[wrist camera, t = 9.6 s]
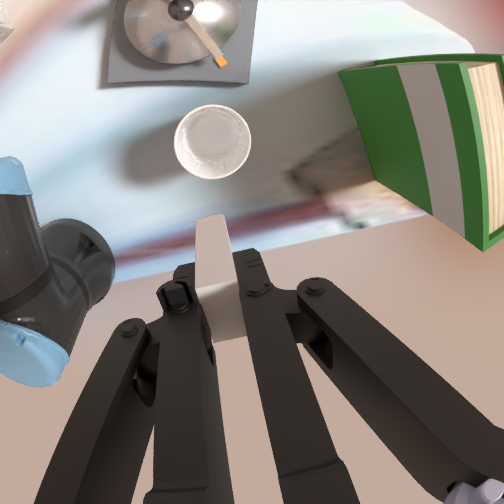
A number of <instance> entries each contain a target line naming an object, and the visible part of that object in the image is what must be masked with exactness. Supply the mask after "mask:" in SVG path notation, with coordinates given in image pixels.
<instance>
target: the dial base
mask: <svg viewBox="0 0 504 504" xmlns="http://www.w3.org/2000/svg"><path fill="white" fill-rule="evenodd" d="M127 2H128V0H117V4H116V10H115V16H114V23H113V30H112V37H111V46H110V55H109V66H108V78H107V83H123V82H142V81H208V82H227V83H240V84H248V83H249V74H250V65H251V55H252V46H253V37H254V28H255V19H256V10H257V2H258V0H241V10H242V11H241V18H240V21H239V24H238V26H237V29H236V31H235V33H234V34H233V36H232V37H231V39H230V40H229V41H228V43H227V44H226V45H225V46H224V47H222V48H221V49H220V50H221V52H222V53H223V54H224V55H223V56H221V57H219V58H218V59H215V57H214V56H213V55H211V56H209V57H207V58H205V59H203V60H200V61H197V62H193V63H188V64H166V63H161V62H158V61H155V60H153V59H151V58H149V57H147V56H145V55H144V54H142V53H141V52H140V51H139V50H137V49H136V48H135V47H134V46H133V45H132V43H131V42H130V40H129V39H128V36H127V34H126V31H125V28H124V13H125V8H126V5H127Z"/></svg>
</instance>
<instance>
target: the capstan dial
mask: <svg viewBox="0 0 504 504" xmlns="http://www.w3.org/2000/svg"><path fill="white" fill-rule="evenodd" d="M241 11H242V10H241V0H128V2H127V5H126V8H125V13H124V28H125V31H126V34H127V36H128V39H129V40H130V42H131V43H132V45H133V46H134V47H135V48H136V49H137V50H139V51H140V52H141V53H142V54H144V55H145V56H147V57H149V58H151V59H153V60H155V61H158V62H161V63H166V64H188V63H193V62H197V61H200V60H203V59H205V58H207V57H209V56H211V55H213V56H214V57H215V59H218V58H219V57H221V56H223V55H224V54H223V53H222V52H221V50H220V49H221V48H222V47H224V46H225V45H226V44H227V43H228V41H229V40H230V39H231V37H232V36H233V34H234V33H235V31H236V29H237V26H238V24H239V21H240V18H241Z"/></svg>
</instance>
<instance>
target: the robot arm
mask: <svg viewBox="0 0 504 504" xmlns="http://www.w3.org/2000/svg"><path fill="white" fill-rule="evenodd" d="M32 195H33V194H32V191H31V190H30V188H29V185H28V182H27V178H26V174H25V171H24V167H23V165H22V163H21V161H20V160H18V159H17V158H15V157H11V156H9V157H3V158H0V373H1V374H3V375H4V376H6V377H8V378H10V379H12V380H14V381H16V382H18V383H21V384H24V385H27V386H32V387H47V386H51V385H53V384H54V383H56V382H57V381H58V379H59V378H60V377H61V374H62V372H63V370H64V368H65V366H66V365H67V363H68V362H69V357H70V354H71V352H72V349H73V346H74V344H75V341H76V338H77V336H78V333H79V331H80V328H81V326H82V323H83V321H84V318H85V316H86V313H87V311H89V310H90V309H91V308H92V306H93V305H95V304H97V303H98V302H100V301H101V300H102V299H103V298H104V297H105V296H106V294H107V293H108V291H109V289H110V287H111V284H112V282H113V279H114V275H115V262H114V258H113V255H112V252H111V250H110V248H109V246H108V244H107V243H106V241H105V240H104V238H103V237H102V236H101V235H100V234H99V233H98V232H97V231H96V230H95V229H93V228H92V227H91V226H89V225H87V224H85V223H83V222H81V221H78V220H74V219H58V220H55V221H53V222H51V223H49V224H47V225H46V226H45V227H44V228H43V229H42V230H41V229H40V226H39V222H38V218H37V215H36V211H35V207H34V203H33V199H32ZM156 294H157V297H158V299H159V301H160V304H161V306H162V308H163V316H162V317H161V318H159V319H157V320H155V321H153V322H151V323H148V324H145V322H144V321H143V320H142V319H139V318H132V319H128V320H125V321H124V322H122V323H121V324H119V325H118V326H117V328H116V329H115V330H114V332H113V334H112V336H111V337H110V339H109V341H108V343H107V345H106V347H105V348H104V350H103V352H102V354H101V356H100V358H99V360H98V361H97V363H96V365H95V367H94V369H93V371H92V373H91V375H90V377H89V379H88V381H87V383H86V385H85V387H84V389H83V391H82V393H81V395H80V397H79V399H78V401H77V403H76V405H75V407H74V409H73V411H72V413H71V416H70V418H69V420H68V422H67V424H66V426H65V428H64V431H63V433H62V435H61V437H60V440H59V442H58V444H57V447H56V449H55V451H54V454H53V456H52V458H51V460H50V463H49V466H48V468H47V470H46V473H45V475H44V478H43V480H42V483H41V486H40V488H39V491H38V493H37V496H36V499H35V502H34V504H131V501H132V498H133V494H134V490H135V487H136V483H137V480H138V476H139V473H140V469H141V466H142V462H143V459H144V456H145V452H146V449H147V446H148V442H149V439H150V436H151V432H152V429H153V426H154V457H153V488H152V490H150V491H149V492H147V493H146V494H145V497H144V499H143V504H234V497H233V491H232V485H231V478H230V471H229V464H228V458H227V450H226V443H225V435H224V427H223V420H222V412H221V403H220V394H219V385H218V376H217V366H216V356H215V351H214V348H213V345H212V339H213V342H214V343H216V342H220V341H225V340H230V339H234V338H239V337H243V336H247V337H248V342H249V346H250V351H251V355H252V360H253V365H254V370H255V374H256V379H257V384H258V388H259V393H260V397H261V402H262V407H263V411H264V415H265V420H266V424H267V429H268V433H269V438H270V442H271V446H272V451H273V455H274V459H275V464H276V468H277V472H278V480H279V485H280V489H281V493H282V498H283V502H284V504H360V502H359V499H358V496H357V494H356V491H355V488H354V486H353V483H352V480H351V477H350V475H349V472H348V470H347V468H346V466H345V464H344V462H343V461H342V460H341V459H340V458H339V457H338V455H337V453H336V450H335V447H334V445H333V442H332V439H331V436H330V434H329V431H328V428H327V425H326V423H325V420H324V417H323V415H322V412H321V409H320V407H319V404H318V401H317V399H316V396H315V393H314V391H313V387H312V385H311V382H310V379H309V377H308V374H307V371H306V369H305V366H304V363H303V360H302V358H301V355H300V353H299V350H298V347H297V344H296V343H302V344H303V346H304V348H305V349H306V350H307V351H308V353H309V354H310V355H311V356H312V358H313V359H314V360H315V361H316V363H317V364H318V365H319V366H320V367H321V369H322V370H323V371H324V372H325V374H326V375H327V376H328V377H329V378H330V380H331V381H332V382H333V383H334V384H335V386H336V387H337V388H338V389H339V390H340V392H341V393H342V394H343V395H344V397H345V398H346V399H347V400H348V401H349V402H350V404H351V405H352V406H353V407H354V409H355V410H356V411H357V412H358V413H359V414H360V416H361V417H362V418H363V419H364V420H365V422H366V423H367V424H368V425H369V426H370V428H371V429H372V430H373V431H374V432H375V433H376V435H377V436H378V437H379V438H380V439H381V441H382V442H383V443H384V444H385V445H386V446H387V448H388V449H389V450H390V451H391V452H392V453H393V455H394V456H395V457H396V458H397V459H398V460H399V462H400V463H401V464H402V465H403V466H404V467H405V469H406V470H407V471H408V472H409V473H410V474H411V475H412V477H413V478H414V479H415V480H416V481H417V482H418V483H419V484H420V485H421V486H422V487H423V488H424V489H425V490H426V491H427V492H428V493H430V494H431V495H432V496H434V497H435V498H436V499H438V500H440V501H441V502H443V504H504V429H502V428H499V427H497V426H494V425H493V424H492V423H491V422H490V421H489V420H488V419H487V418H486V417H485V416H484V415H483V414H482V413H481V412H479V411H478V410H477V409H476V408H475V407H474V406H473V405H472V404H471V403H469V401H467V400H466V399H465V398H464V397H463V396H462V395H461V394H460V393H459V392H458V391H456V390H455V389H454V388H453V387H452V386H451V385H450V384H449V383H448V382H446V381H445V380H444V379H443V378H442V377H441V376H440V375H439V374H438V373H436V372H435V371H434V370H433V369H432V368H431V367H430V366H429V365H427V364H426V363H425V362H424V361H423V360H422V359H421V358H420V357H418V356H417V355H416V354H415V353H414V352H413V351H412V350H410V349H409V348H408V347H407V346H406V345H405V344H404V343H402V342H401V341H400V340H399V339H398V338H397V337H396V336H394V335H393V334H392V333H391V332H390V331H389V330H387V329H386V328H385V327H384V326H382V325H381V324H380V323H379V322H378V321H377V320H376V319H374V318H373V317H372V316H371V315H370V314H368V312H366V311H365V310H364V309H363V308H362V307H361V306H359V305H358V304H357V303H356V302H355V301H353V300H352V299H351V298H350V297H349V296H347V295H346V294H345V293H344V292H343V291H342V290H340V289H339V288H338V287H337V286H335V285H334V284H333V283H332V282H331V281H329V280H327V279H325V278H320V277H315V278H309V279H305V280H304V281H302V282H300V284H299V285H298V286H297V290H283V289H279V288H276V287H275V286H274V285H273V284H272V283H271V282H270V279H269V277H268V274H267V271H266V269H265V266H264V263H263V261H262V258H261V255H260V252H258V251H257V250H255V249H254V248H251V249H246V250H242V251H238V252H233V253H232V249H231V244H230V240H229V236H228V231H227V227H226V222H225V218H224V213H221V214H216V215H212V216H207V217H203V218H199V219H196V244H195V262H193V263H188V264H184V265H180V266H178V267H177V269H176V270H175V271H174V274H173V280H171V281H168V282H166V283H165V284H163V285H162V286H160V287H159V288H158V290H157V292H156ZM211 336H212V339H211Z"/></svg>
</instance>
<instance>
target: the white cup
mask: <svg viewBox="0 0 504 504" xmlns="http://www.w3.org/2000/svg"><path fill="white" fill-rule="evenodd" d="M250 148H251V134H250V130H249V128H248V125H247V123H246V122H245V120H244V119H243V118H242V117H241V116H240V115H239V114H238V113H237V112H236V111H234V110H232V109H231V108H228V107H226V106H222V105H205V106H201V107H198V108H196V109H194V110H192V111H191V112H189V113H188V114H187V115H186V116H185V117H184V118H183V119H182V120H181V122H180V123H179V125H178V127H177V129H176V132H175V135H174V150H175V154H176V157H177V159H178V161H179V162H180V164H181V165H182V166H183V167H184V168H185V169H186V170H187V171H188V172H189V173H191V174H193V175H195V176H197V177H200V178H204V179H219V178H223V177H226V176H228V175H230V174H232V173H234V172H235V171H237V170H238V169H239V168H240V167H241V166H242V165H243V163H244V162H245V161H246V159H247V157H248V155H249V152H250Z"/></svg>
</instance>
